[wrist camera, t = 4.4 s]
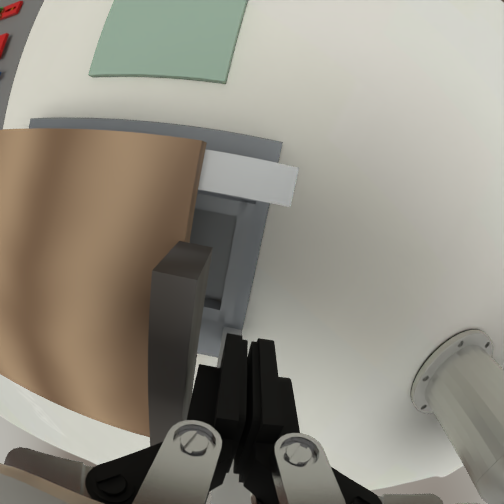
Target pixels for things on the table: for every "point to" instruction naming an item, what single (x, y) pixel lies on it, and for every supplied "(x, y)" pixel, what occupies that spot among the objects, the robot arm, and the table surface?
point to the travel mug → (230, 491)
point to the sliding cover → (102, 272)
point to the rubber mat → (169, 39)
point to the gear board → (13, 42)
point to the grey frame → (220, 212)
